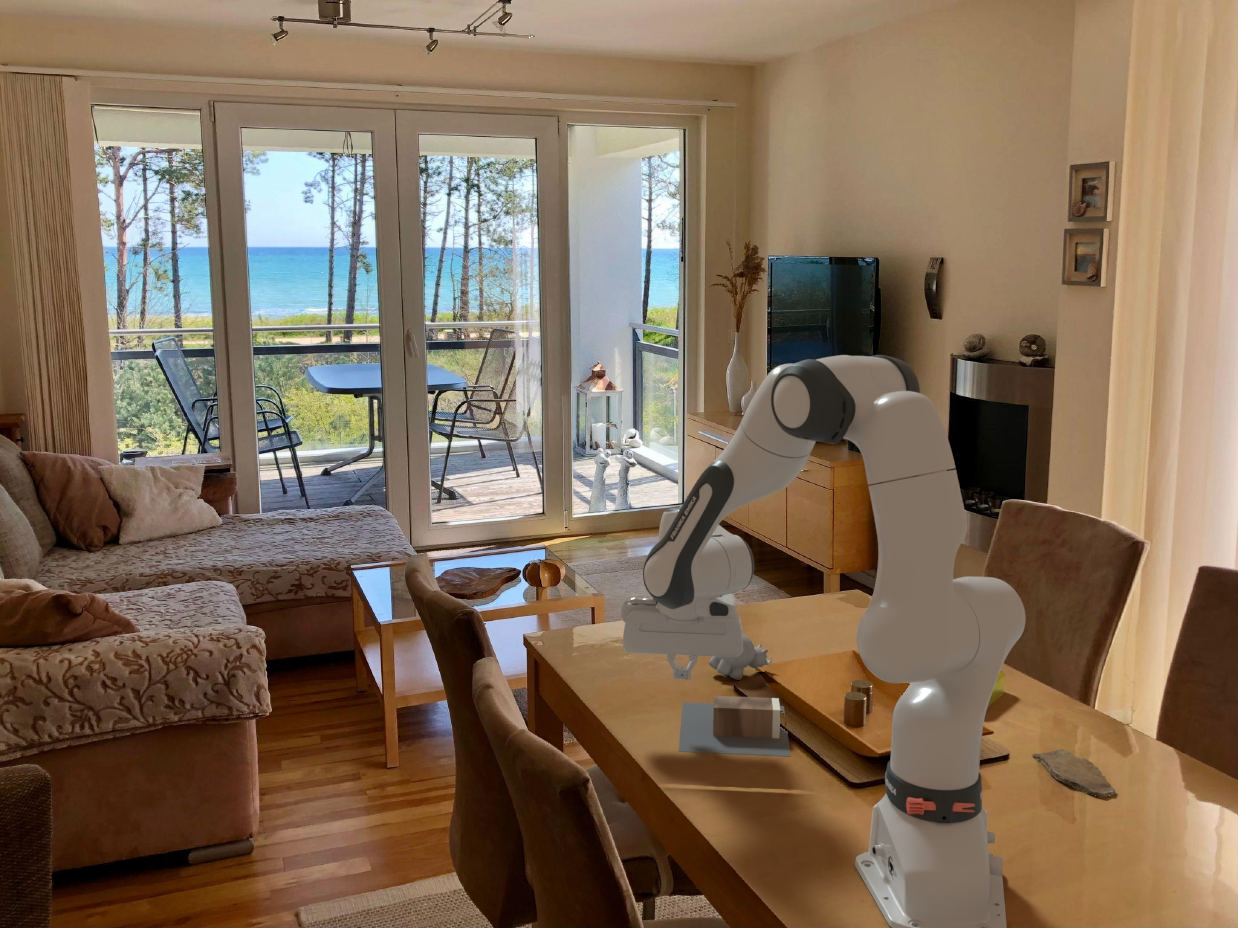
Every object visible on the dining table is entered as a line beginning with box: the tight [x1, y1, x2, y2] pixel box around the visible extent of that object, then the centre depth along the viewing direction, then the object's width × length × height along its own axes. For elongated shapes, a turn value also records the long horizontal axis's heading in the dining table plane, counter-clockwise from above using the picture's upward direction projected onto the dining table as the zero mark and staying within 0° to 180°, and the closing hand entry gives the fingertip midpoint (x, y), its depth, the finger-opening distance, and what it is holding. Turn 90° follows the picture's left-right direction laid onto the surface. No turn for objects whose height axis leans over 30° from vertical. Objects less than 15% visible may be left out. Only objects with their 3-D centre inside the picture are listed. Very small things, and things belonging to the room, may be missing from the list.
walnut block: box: [713, 695, 781, 738], centre depth 186 cm, size 5×5×11 cm
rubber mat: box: [678, 701, 792, 757], centre depth 187 cm, size 20×18×1 cm
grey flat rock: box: [1031, 748, 1116, 798], centre depth 172 cm, size 8×16×2 cm, turn 8°
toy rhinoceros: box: [708, 632, 773, 681], centre depth 211 cm, size 7×12×8 cm, turn 107°
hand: (682, 677), depth 185 cm, fingers closed
